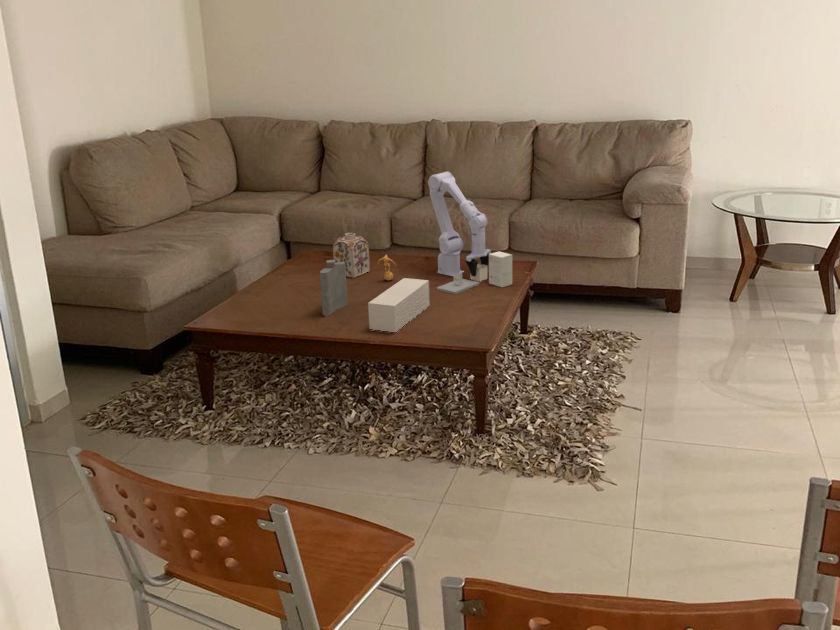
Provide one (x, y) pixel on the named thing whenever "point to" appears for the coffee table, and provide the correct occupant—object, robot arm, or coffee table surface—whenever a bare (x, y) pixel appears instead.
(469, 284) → the base board
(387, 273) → the figurine
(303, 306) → the coffee table surface
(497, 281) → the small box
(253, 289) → the coffee table surface
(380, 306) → the long white block
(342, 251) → the decorative jar
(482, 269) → the beige cardboard cube
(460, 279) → the post
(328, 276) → the hip flask
